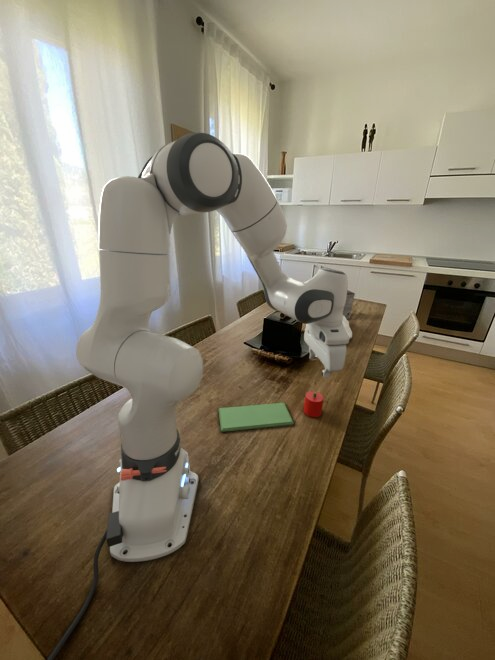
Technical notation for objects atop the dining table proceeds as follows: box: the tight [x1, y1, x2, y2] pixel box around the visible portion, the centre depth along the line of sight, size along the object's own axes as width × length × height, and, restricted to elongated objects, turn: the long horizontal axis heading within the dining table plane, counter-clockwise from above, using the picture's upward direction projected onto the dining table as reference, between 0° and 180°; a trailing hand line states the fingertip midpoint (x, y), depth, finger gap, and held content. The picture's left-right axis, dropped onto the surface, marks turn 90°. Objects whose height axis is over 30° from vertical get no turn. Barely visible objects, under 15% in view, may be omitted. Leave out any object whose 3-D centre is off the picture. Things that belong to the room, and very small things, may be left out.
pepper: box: [303, 390, 325, 418], centre depth 89 cm, size 6×6×7 cm
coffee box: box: [342, 289, 356, 320], centre depth 171 cm, size 9×6×16 cm
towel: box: [218, 402, 295, 433], centre depth 87 cm, size 10×22×1 cm, turn 100°
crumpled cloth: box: [342, 316, 353, 340], centre depth 148 cm, size 24×35×9 cm
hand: (318, 368), depth 84 cm, fingers open, 8 cm apart
